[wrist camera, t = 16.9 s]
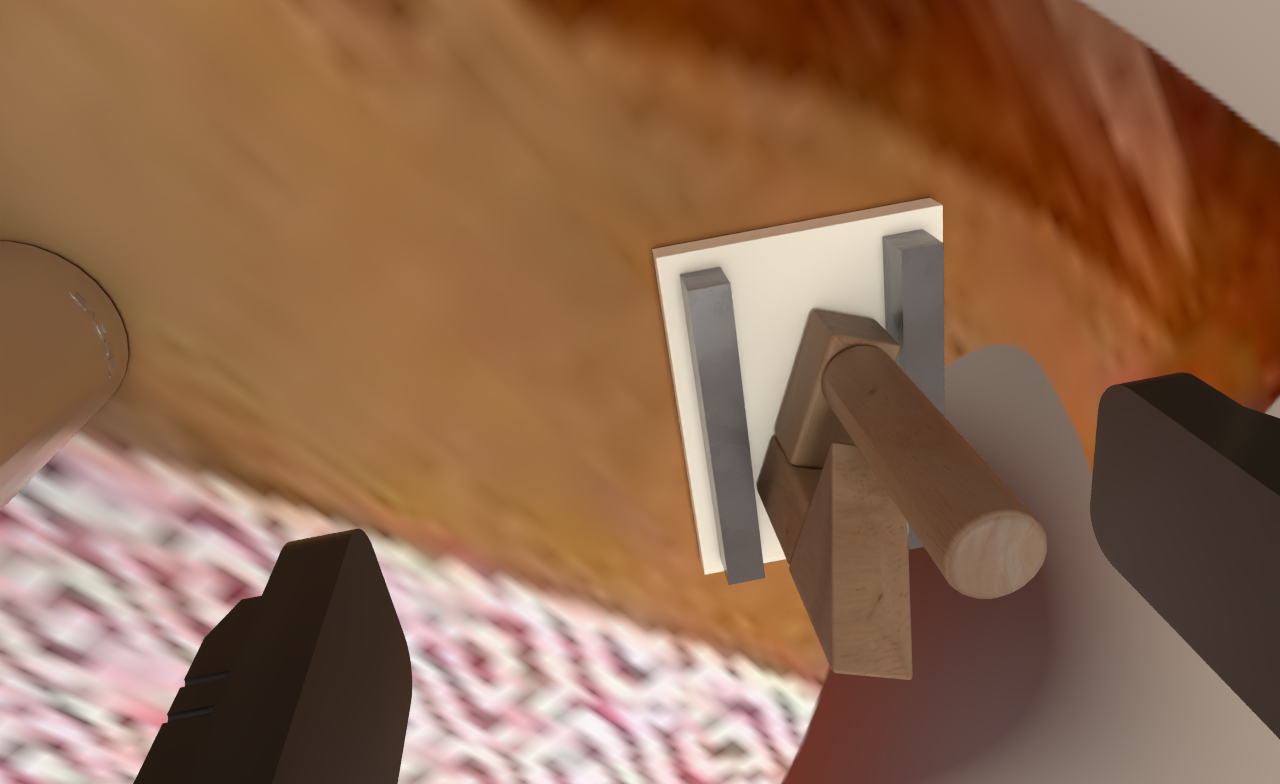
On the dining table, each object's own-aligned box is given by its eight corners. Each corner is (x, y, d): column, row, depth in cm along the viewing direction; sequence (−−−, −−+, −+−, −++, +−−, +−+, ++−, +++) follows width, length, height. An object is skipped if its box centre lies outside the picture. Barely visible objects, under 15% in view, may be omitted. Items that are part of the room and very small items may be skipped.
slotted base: (700, 558, 52) (712, 602, 48) (652, 249, 44) (662, 274, 40) (933, 513, 52) (962, 553, 49) (929, 197, 44) (965, 218, 40)
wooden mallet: (753, 489, 49) (862, 750, 32) (809, 305, 44) (968, 502, 28) (816, 497, 49) (954, 757, 33) (878, 317, 45) (1071, 516, 29)
